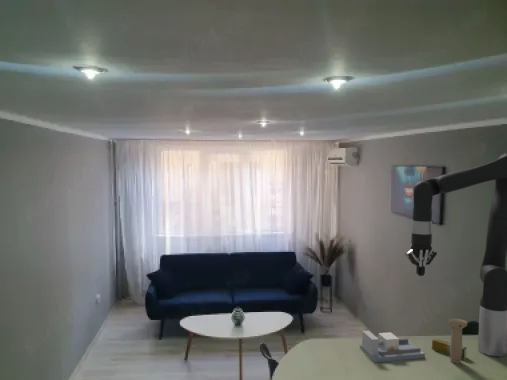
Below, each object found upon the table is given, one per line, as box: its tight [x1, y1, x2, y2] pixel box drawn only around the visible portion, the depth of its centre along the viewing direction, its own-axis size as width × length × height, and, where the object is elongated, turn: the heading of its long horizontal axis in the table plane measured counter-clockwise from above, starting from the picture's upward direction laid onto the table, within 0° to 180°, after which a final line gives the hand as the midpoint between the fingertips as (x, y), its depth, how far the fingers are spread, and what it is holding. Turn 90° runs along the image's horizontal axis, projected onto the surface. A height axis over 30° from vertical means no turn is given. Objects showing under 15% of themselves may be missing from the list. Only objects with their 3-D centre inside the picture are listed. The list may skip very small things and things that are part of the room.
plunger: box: [377, 331, 400, 350], centre depth 162 cm, size 8×8×5 cm
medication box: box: [431, 338, 468, 360], centre depth 164 cm, size 12×3×4 cm, turn 45°
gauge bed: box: [359, 330, 426, 363], centre depth 164 cm, size 20×12×8 cm, turn 101°
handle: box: [446, 318, 468, 364], centre depth 157 cm, size 5×6×15 cm
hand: (420, 275), depth 173 cm, fingers closed
